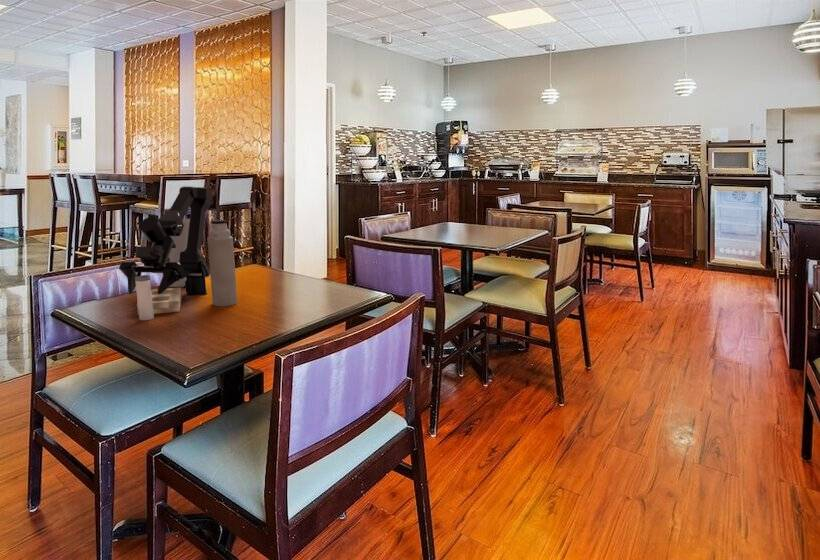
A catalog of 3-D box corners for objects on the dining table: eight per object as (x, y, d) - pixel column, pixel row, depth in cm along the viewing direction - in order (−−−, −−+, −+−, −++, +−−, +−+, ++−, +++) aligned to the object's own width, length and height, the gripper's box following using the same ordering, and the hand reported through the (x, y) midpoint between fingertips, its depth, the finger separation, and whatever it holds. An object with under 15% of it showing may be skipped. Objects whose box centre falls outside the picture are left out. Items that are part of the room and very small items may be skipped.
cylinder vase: (201, 280, 218) (196, 218, 213) (193, 287, 206) (187, 221, 201) (169, 281, 217) (163, 218, 211) (159, 288, 205) (152, 222, 199)
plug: (154, 316, 167) (150, 274, 164) (153, 319, 164) (149, 277, 161) (140, 317, 166) (135, 275, 163) (138, 320, 162) (134, 278, 159)
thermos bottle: (222, 299, 188) (216, 218, 182) (242, 301, 185) (236, 219, 179) (207, 305, 180) (200, 221, 174) (227, 307, 178) (221, 221, 172)
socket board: (181, 297, 191) (180, 283, 190) (179, 311, 172) (178, 296, 171) (144, 300, 187) (142, 286, 186) (137, 315, 168) (136, 299, 167)
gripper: (119, 235, 166) (100, 278, 157) (177, 236, 164) (162, 278, 156) (136, 256, 175) (119, 297, 166) (192, 257, 173) (178, 299, 165)
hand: (144, 293), depth 163 cm, fingers open, 9 cm apart
